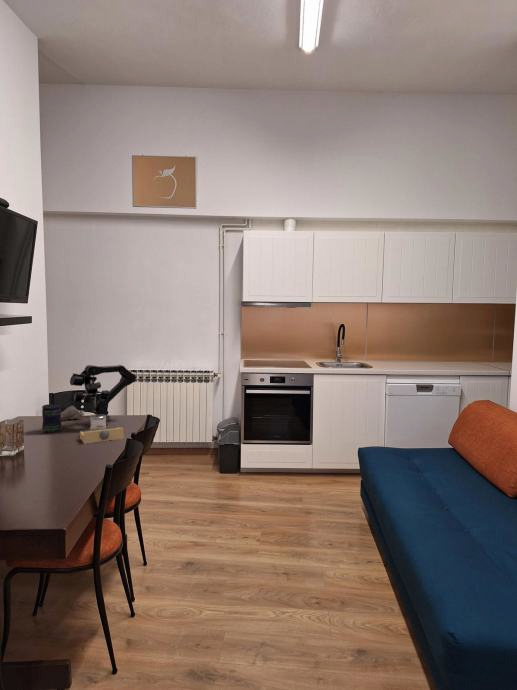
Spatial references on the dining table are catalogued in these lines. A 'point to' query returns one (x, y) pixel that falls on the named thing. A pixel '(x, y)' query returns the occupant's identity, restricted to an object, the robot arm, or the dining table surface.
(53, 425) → the storage jar
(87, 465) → the dining table surface
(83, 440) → the tan wooden u-frame
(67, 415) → the pipe
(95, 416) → the door knob
